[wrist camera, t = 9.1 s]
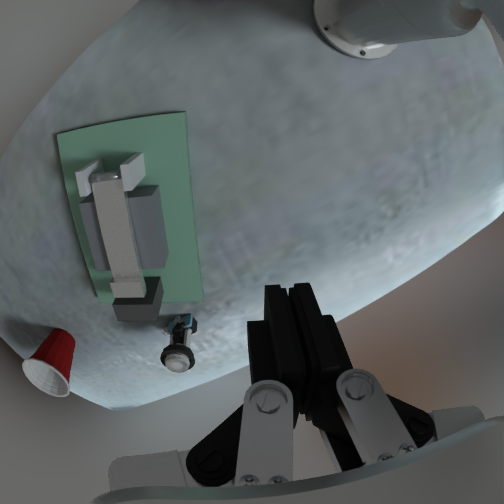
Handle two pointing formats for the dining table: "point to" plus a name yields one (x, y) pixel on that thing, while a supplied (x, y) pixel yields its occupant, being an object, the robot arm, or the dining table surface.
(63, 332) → the plastic cup
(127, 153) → the board
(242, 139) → the dining table surface
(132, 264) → the retention strap
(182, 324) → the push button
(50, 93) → the dining table surface
